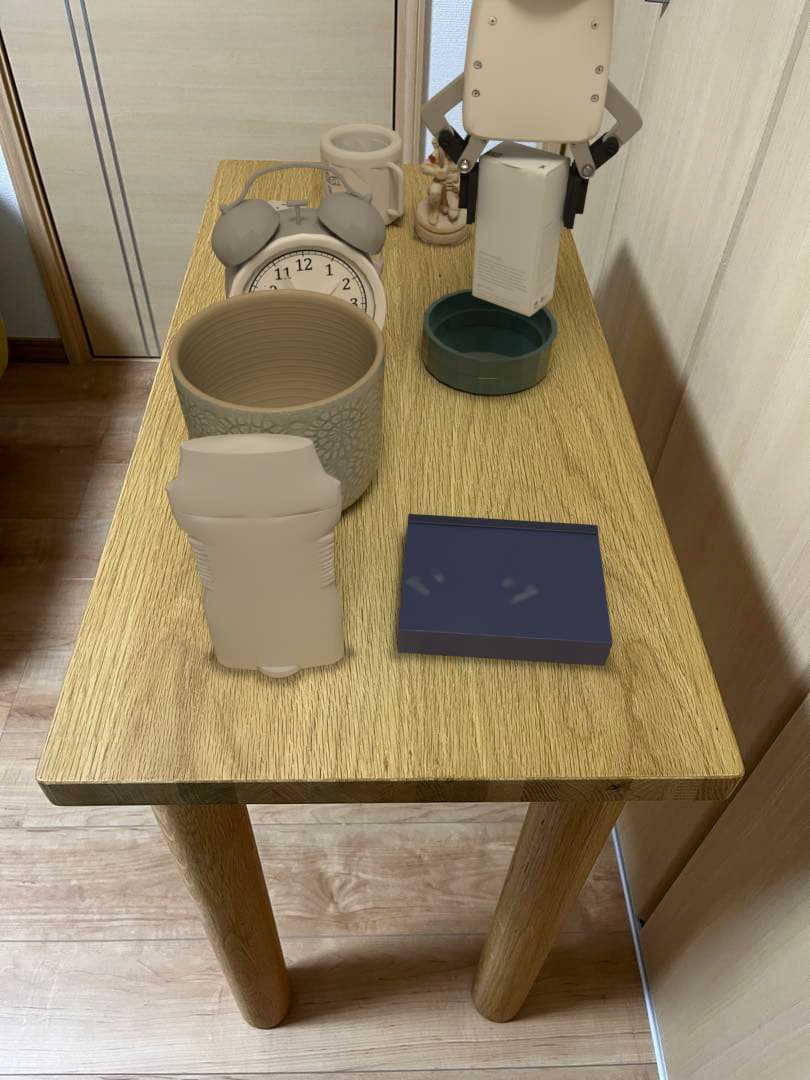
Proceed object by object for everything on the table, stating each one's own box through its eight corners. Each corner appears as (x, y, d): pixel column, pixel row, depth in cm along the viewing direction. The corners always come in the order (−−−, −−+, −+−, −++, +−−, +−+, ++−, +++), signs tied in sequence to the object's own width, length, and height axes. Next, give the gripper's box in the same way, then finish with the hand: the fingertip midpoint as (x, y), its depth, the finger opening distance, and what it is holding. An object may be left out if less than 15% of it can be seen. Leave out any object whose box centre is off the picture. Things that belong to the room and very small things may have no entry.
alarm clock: (235, 403, 84) (201, 191, 68) (230, 354, 90) (197, 149, 74) (392, 385, 87) (395, 177, 71) (377, 339, 93) (376, 137, 76)
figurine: (432, 262, 108) (443, 167, 95) (403, 225, 111) (410, 128, 97) (478, 242, 110) (495, 147, 97) (448, 207, 113) (461, 109, 99)
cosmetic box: (554, 298, 71) (577, 155, 62) (528, 321, 69) (549, 174, 60) (493, 276, 74) (508, 135, 65) (466, 297, 71) (477, 153, 62)
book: (590, 549, 71) (597, 524, 69) (604, 666, 63) (613, 641, 61) (407, 538, 72) (408, 513, 70) (397, 652, 64) (398, 628, 61)
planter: (174, 461, 78) (139, 320, 67) (332, 407, 84) (325, 270, 73) (244, 580, 68) (217, 438, 57) (418, 509, 74) (424, 368, 63)
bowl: (547, 325, 95) (553, 290, 92) (554, 401, 86) (561, 365, 82) (425, 319, 96) (426, 284, 92) (418, 393, 86) (420, 357, 83)
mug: (307, 210, 114) (302, 135, 106) (366, 188, 119) (365, 115, 111) (371, 247, 107) (371, 169, 100) (431, 222, 112) (434, 146, 105)
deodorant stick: (349, 631, 65) (338, 411, 49) (349, 675, 62) (338, 457, 46) (213, 636, 64) (157, 415, 48) (208, 680, 62) (146, 462, 45)
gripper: (677, -57, 55) (623, 203, 68) (418, -65, 56) (414, 193, 69) (695, -29, 50) (633, 247, 63) (410, -38, 51) (407, 236, 64)
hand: (518, 217), depth 66 cm, fingers closed on cosmetic box, 7 cm apart
